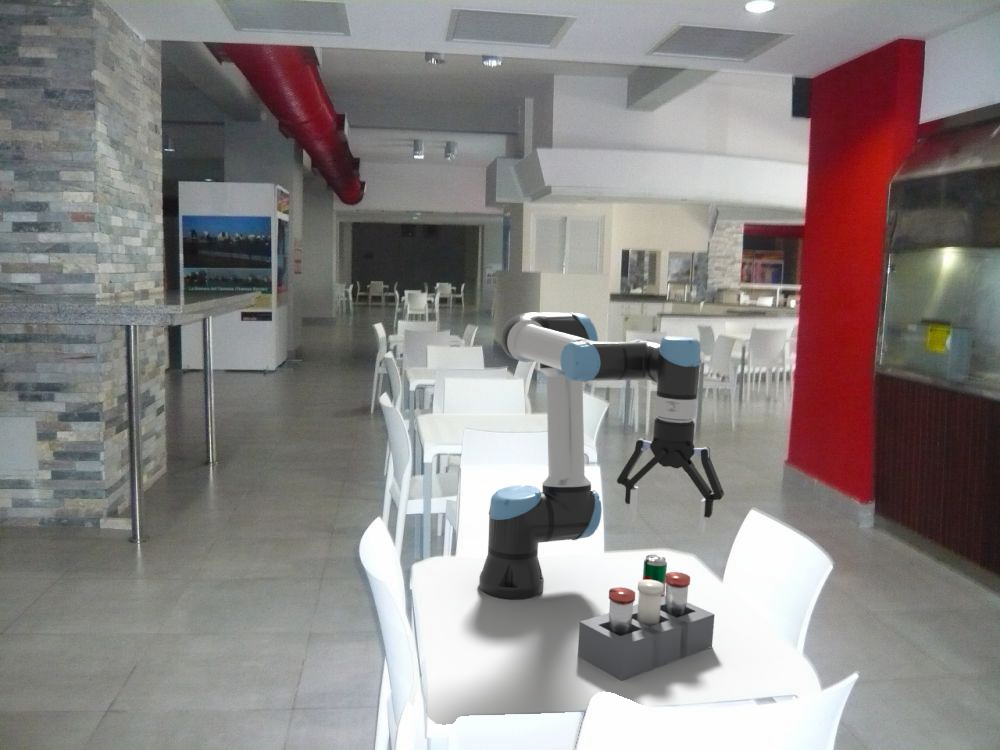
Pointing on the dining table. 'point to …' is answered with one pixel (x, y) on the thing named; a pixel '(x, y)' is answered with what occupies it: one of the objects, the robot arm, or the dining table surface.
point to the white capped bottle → (649, 602)
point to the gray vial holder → (645, 641)
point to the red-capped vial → (621, 610)
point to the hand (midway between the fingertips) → (666, 526)
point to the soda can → (655, 569)
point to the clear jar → (676, 593)
